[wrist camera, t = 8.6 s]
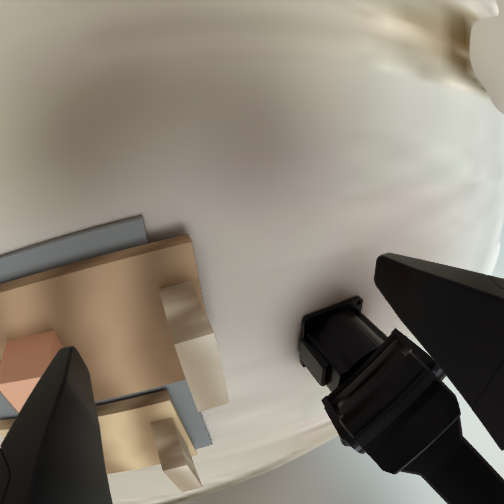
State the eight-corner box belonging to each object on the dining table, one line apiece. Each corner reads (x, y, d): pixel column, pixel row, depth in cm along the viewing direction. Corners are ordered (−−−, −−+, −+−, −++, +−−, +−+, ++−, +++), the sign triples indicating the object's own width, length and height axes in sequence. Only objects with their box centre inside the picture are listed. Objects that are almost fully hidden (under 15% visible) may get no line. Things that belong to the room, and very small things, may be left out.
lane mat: (141, 215, 18) (142, 218, 17) (211, 440, 31) (212, 444, 30) (-86, 287, 12) (-89, 291, 11) (60, 470, 25) (60, 474, 24)
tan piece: (166, 389, 24) (185, 450, 18) (194, 445, 29) (212, 492, 24) (-2, 420, 18) (-7, 474, 13) (53, 471, 23) (58, 515, 18)
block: (54, 330, 16) (47, 375, 13) (78, 372, 18) (78, 416, 15) (7, 341, 15) (-5, 384, 12) (33, 380, 17) (29, 424, 14)
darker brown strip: (187, 233, 19) (217, 287, 14) (213, 359, 24) (241, 419, 19) (-50, 299, 13) (-81, 359, 8) (20, 403, 19) (15, 463, 13)
